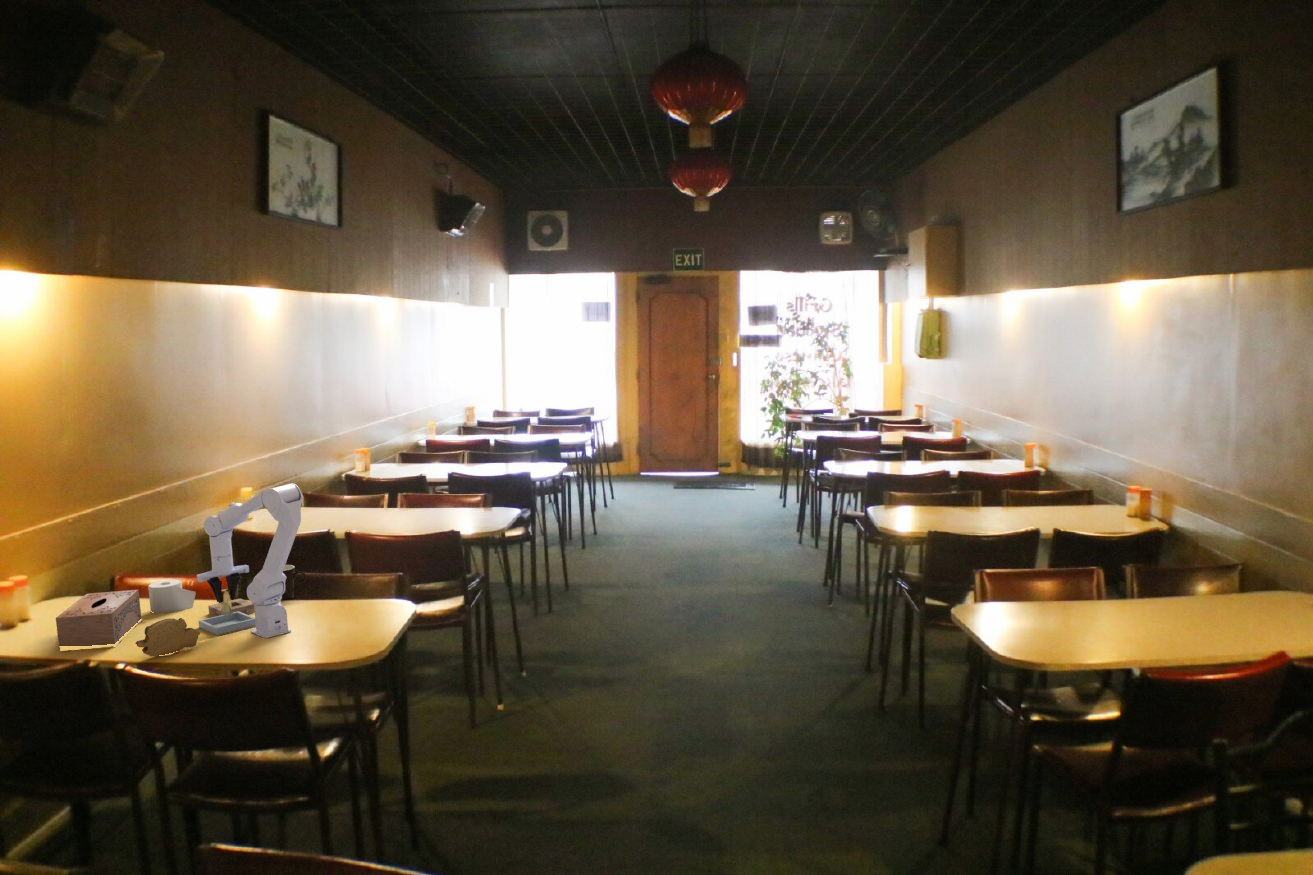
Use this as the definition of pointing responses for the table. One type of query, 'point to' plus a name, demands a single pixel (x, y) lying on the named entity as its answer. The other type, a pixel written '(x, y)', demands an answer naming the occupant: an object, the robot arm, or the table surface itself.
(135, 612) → the tissue box cover
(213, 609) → the socket block
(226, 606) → the brass pin
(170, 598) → the toilet tissue
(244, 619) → the tray
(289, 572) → the coffee mug
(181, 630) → the wooden carving
